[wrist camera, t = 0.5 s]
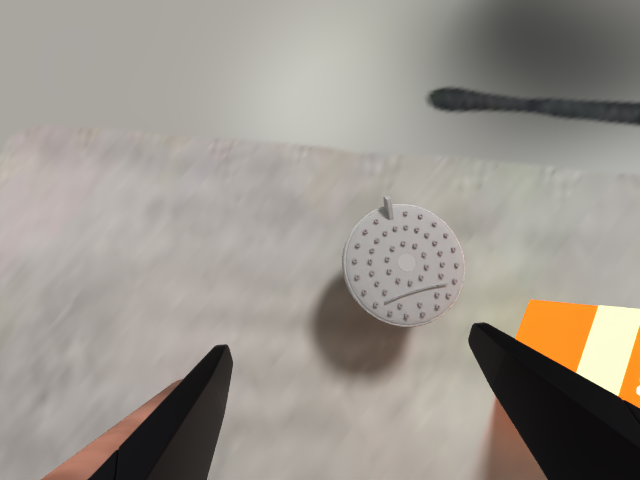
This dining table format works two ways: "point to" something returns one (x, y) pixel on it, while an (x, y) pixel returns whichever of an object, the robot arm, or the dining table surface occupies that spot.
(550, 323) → the orange juice
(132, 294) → the dining table surface
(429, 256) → the showerhead
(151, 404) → the peg
